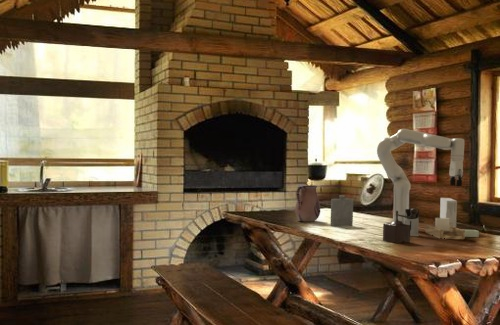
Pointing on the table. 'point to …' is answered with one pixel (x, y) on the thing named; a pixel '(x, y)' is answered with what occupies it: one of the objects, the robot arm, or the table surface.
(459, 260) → the table surface
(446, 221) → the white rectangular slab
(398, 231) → the dark brown coffee grinder
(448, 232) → the offcut walnut
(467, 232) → the holder
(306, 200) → the ceramic pitcher
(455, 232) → the rack
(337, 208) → the hip flask
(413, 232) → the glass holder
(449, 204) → the packaging
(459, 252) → the table surface
